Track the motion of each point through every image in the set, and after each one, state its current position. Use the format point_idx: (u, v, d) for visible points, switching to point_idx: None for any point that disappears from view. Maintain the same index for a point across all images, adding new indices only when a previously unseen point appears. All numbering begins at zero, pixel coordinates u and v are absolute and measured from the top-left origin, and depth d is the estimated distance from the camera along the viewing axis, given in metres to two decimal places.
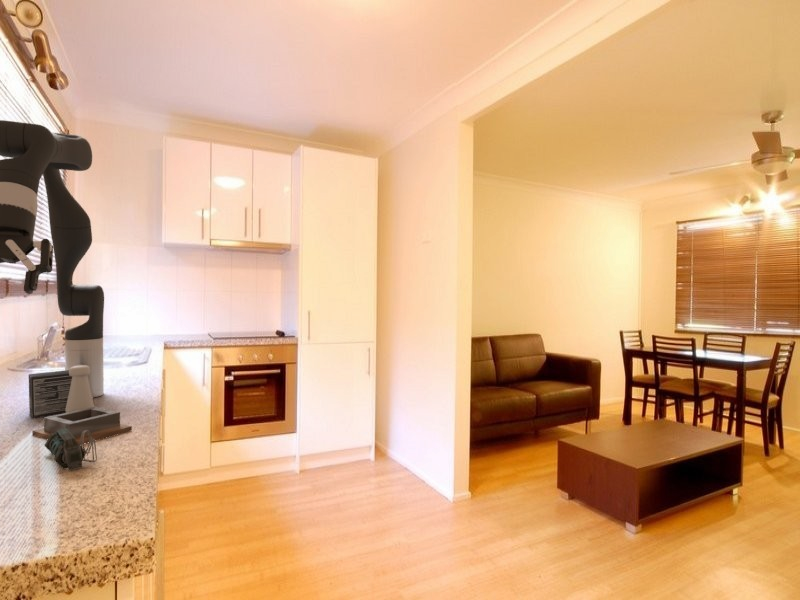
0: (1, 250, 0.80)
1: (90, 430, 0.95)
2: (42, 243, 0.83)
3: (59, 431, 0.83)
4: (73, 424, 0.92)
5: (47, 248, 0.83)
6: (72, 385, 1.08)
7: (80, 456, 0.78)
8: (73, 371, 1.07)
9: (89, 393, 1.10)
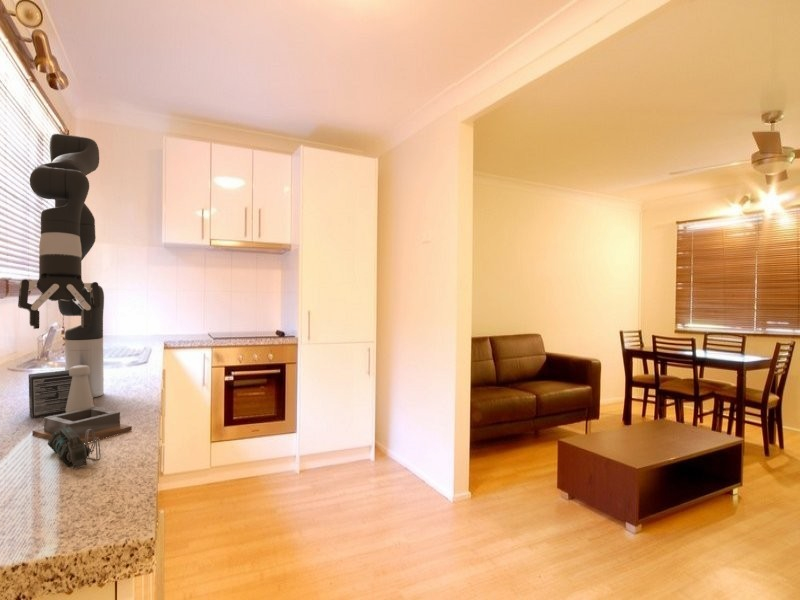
0: (61, 292, 0.98)
1: None
2: (93, 286, 1.02)
3: (63, 430, 0.84)
4: (73, 424, 0.92)
5: (97, 290, 1.03)
6: (72, 385, 1.08)
7: (85, 454, 0.79)
8: (73, 371, 1.07)
9: (89, 393, 1.10)
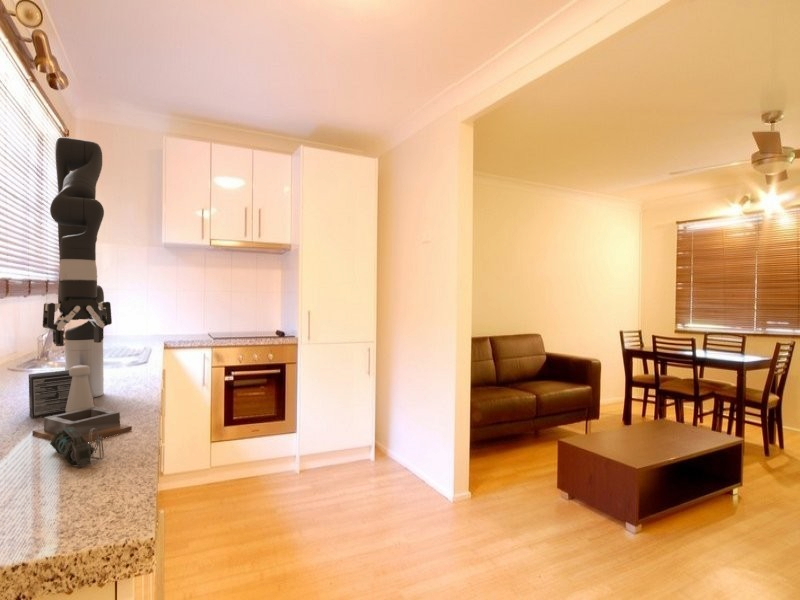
0: (81, 313, 1.09)
1: None
2: (106, 305, 1.14)
3: (65, 429, 0.84)
4: (73, 424, 0.92)
5: (110, 309, 1.14)
6: (72, 385, 1.08)
7: (89, 453, 0.80)
8: (73, 371, 1.07)
9: (89, 393, 1.10)
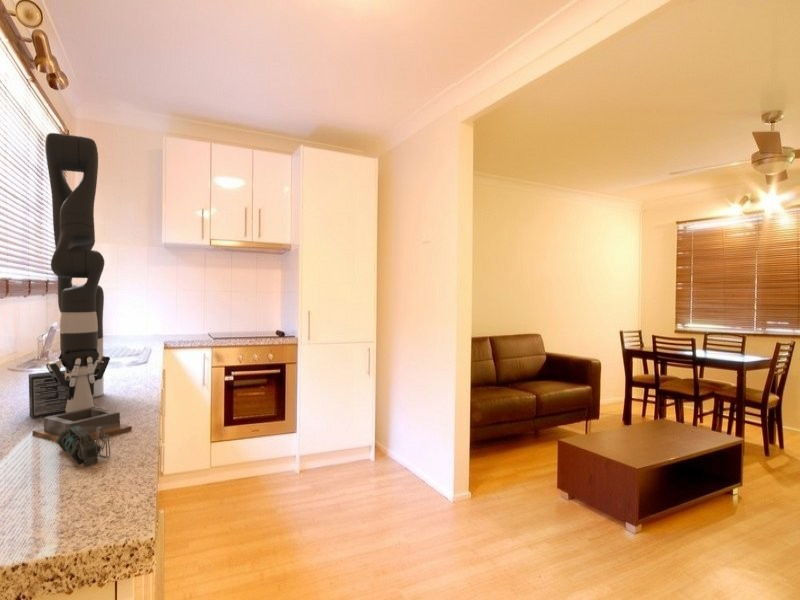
0: (81, 364, 1.09)
1: (90, 430, 0.95)
2: (105, 360, 1.14)
3: (72, 428, 0.85)
4: (73, 424, 0.92)
5: (106, 364, 1.14)
6: None
7: (96, 452, 0.80)
8: None
9: (89, 393, 1.10)
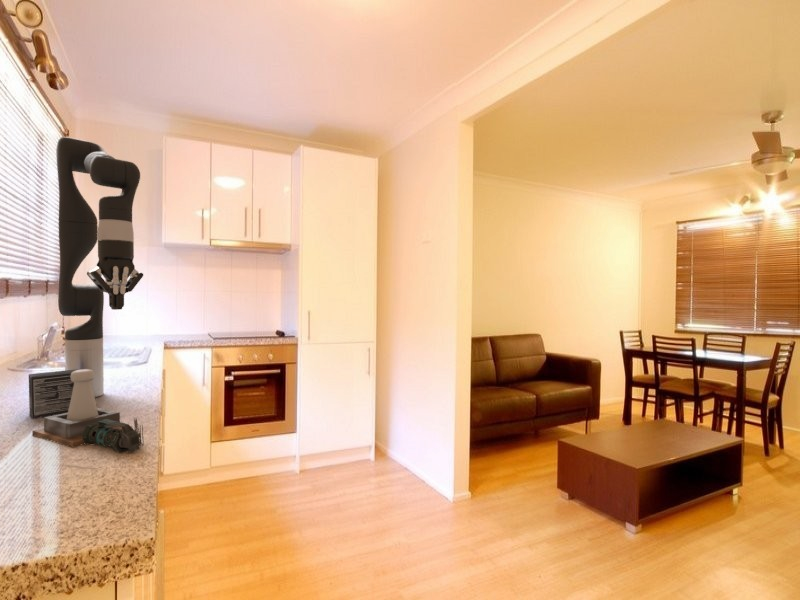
0: (118, 273, 1.10)
1: None
2: (139, 275, 1.14)
3: (102, 421, 0.90)
4: (73, 424, 0.92)
5: (138, 280, 1.14)
6: (74, 392, 0.97)
7: (138, 439, 0.87)
8: (75, 376, 0.96)
9: (93, 400, 0.99)
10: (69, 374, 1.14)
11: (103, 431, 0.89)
